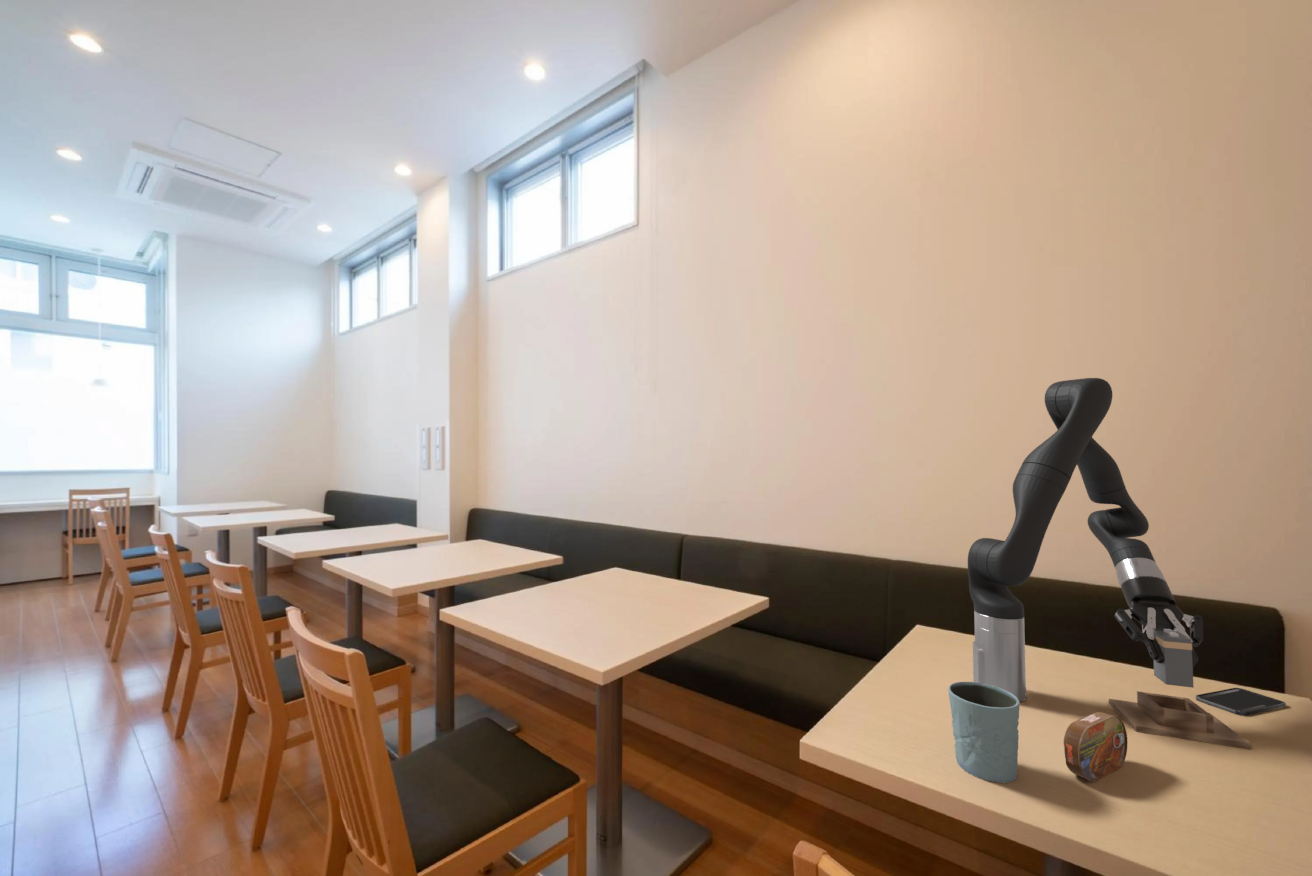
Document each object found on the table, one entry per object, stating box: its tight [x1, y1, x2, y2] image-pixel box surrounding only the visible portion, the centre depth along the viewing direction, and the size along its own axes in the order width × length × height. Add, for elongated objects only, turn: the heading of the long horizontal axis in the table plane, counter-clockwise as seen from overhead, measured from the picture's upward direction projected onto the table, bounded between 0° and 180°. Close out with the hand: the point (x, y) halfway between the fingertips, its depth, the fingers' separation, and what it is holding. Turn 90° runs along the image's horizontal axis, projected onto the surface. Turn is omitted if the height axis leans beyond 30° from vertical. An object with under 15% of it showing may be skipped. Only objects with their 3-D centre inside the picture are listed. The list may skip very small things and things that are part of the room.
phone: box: [1195, 687, 1287, 717], centre depth 110 cm, size 8×1×15 cm
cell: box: [1153, 629, 1194, 688], centre depth 101 cm, size 4×5×10 cm
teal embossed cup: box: [947, 681, 1021, 784], centre depth 87 cm, size 10×10×12 cm
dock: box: [1108, 690, 1252, 750], centre depth 101 cm, size 16×12×4 cm
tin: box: [1063, 711, 1128, 783], centre depth 86 cm, size 15×3×8 cm, turn 116°
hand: (1176, 662), depth 100 cm, fingers closed on cell, 4 cm apart
